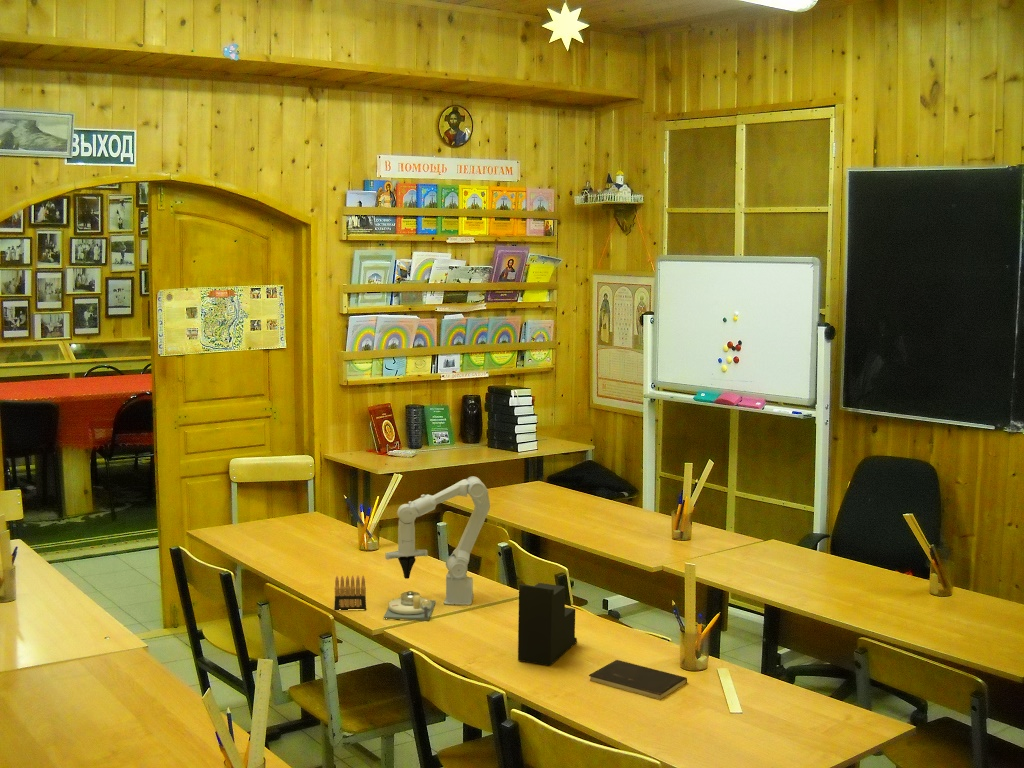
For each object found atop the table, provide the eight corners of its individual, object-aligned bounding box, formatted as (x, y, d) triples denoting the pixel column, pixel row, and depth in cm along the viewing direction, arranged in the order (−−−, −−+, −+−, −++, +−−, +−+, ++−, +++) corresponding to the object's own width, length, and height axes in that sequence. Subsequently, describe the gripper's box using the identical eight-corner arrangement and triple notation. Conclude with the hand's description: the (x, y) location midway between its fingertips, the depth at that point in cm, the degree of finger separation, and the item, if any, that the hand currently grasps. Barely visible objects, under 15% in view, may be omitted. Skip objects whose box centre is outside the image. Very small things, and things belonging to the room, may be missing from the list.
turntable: (420, 598, 388) (420, 583, 387) (438, 610, 375) (438, 594, 375) (382, 604, 381) (382, 589, 380) (399, 616, 368) (399, 600, 367)
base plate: (435, 603, 387) (435, 600, 387) (428, 620, 368) (428, 618, 368) (392, 602, 388) (392, 599, 388) (383, 619, 369) (383, 616, 369)
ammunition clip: (334, 611, 378) (334, 576, 376) (334, 609, 379) (334, 574, 378) (366, 610, 379) (365, 575, 377) (366, 608, 380) (366, 574, 379)
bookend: (545, 637, 354) (546, 565, 351) (577, 642, 349) (579, 569, 347) (516, 661, 332) (517, 585, 330) (550, 667, 328) (552, 589, 325)
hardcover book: (659, 702, 304) (660, 694, 304) (588, 682, 318) (588, 674, 318) (687, 684, 317) (687, 676, 317) (617, 666, 331) (617, 659, 330)
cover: (414, 599, 382) (414, 588, 382) (422, 604, 377) (423, 593, 376) (397, 601, 379) (397, 591, 379) (405, 607, 374) (405, 596, 373)
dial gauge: (431, 619, 370) (431, 599, 369) (431, 620, 369) (431, 600, 368) (420, 619, 370) (420, 599, 369) (420, 620, 369) (420, 600, 368)
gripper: (423, 534, 389) (423, 572, 391) (383, 538, 384) (383, 576, 386) (429, 539, 383) (429, 578, 384) (388, 543, 378) (388, 582, 379)
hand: (406, 577), depth 385 cm, fingers closed
